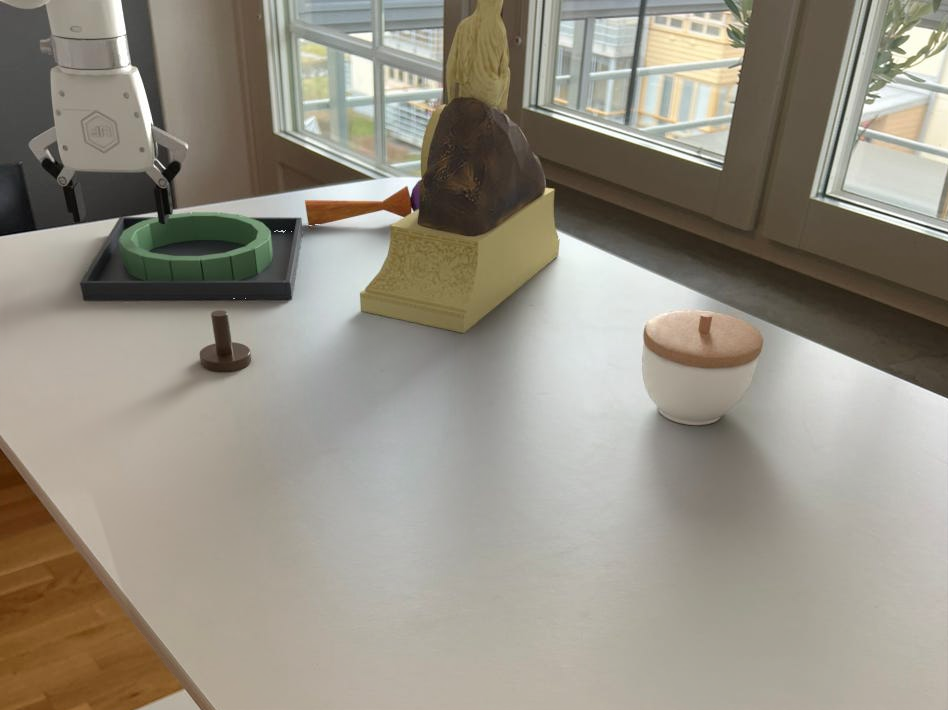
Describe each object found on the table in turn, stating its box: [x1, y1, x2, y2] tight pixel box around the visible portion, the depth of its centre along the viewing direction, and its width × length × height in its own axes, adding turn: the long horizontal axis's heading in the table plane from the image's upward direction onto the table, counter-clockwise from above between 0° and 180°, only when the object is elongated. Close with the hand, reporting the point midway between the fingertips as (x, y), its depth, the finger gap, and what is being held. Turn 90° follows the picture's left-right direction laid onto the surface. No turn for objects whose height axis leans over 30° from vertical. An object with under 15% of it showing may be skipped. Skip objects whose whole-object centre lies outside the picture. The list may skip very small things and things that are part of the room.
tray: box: [79, 216, 303, 301], centre depth 121 cm, size 23×23×2 cm
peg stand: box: [199, 309, 252, 373], centre depth 99 cm, size 5×5×5 cm
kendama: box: [304, 179, 421, 226], centre depth 133 cm, size 6×6×20 cm
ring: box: [119, 211, 273, 281], centre depth 120 cm, size 18×18×3 cm
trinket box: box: [641, 309, 764, 426], centre depth 92 cm, size 11×11×9 cm
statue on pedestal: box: [359, 0, 560, 334], centre depth 110 cm, size 28×13×30 cm, turn 155°
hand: (122, 220), depth 117 cm, fingers open, 9 cm apart
